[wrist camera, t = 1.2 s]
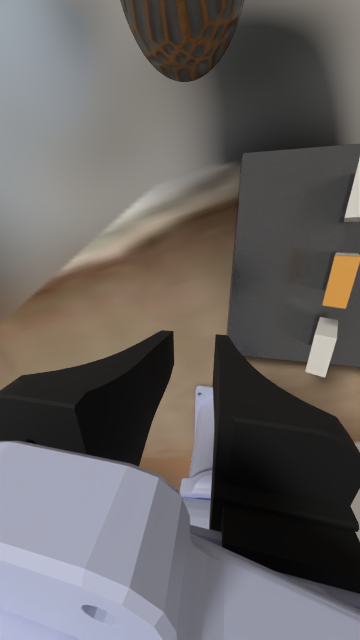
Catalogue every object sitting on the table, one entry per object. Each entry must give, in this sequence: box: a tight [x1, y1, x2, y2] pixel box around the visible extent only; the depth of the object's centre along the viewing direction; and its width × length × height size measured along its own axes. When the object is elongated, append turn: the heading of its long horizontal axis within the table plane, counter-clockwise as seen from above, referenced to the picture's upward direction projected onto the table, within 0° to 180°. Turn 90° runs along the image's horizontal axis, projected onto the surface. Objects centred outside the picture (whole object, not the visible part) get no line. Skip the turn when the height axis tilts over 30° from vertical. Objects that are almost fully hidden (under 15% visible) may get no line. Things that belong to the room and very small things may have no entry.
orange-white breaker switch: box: [322, 253, 360, 309], centre depth 14 cm, size 3×1×4 cm, turn 0°
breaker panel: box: [227, 144, 360, 367], centre depth 17 cm, size 16×16×2 cm
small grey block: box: [305, 317, 338, 378], centre depth 16 cm, size 3×1×4 cm, turn 0°
